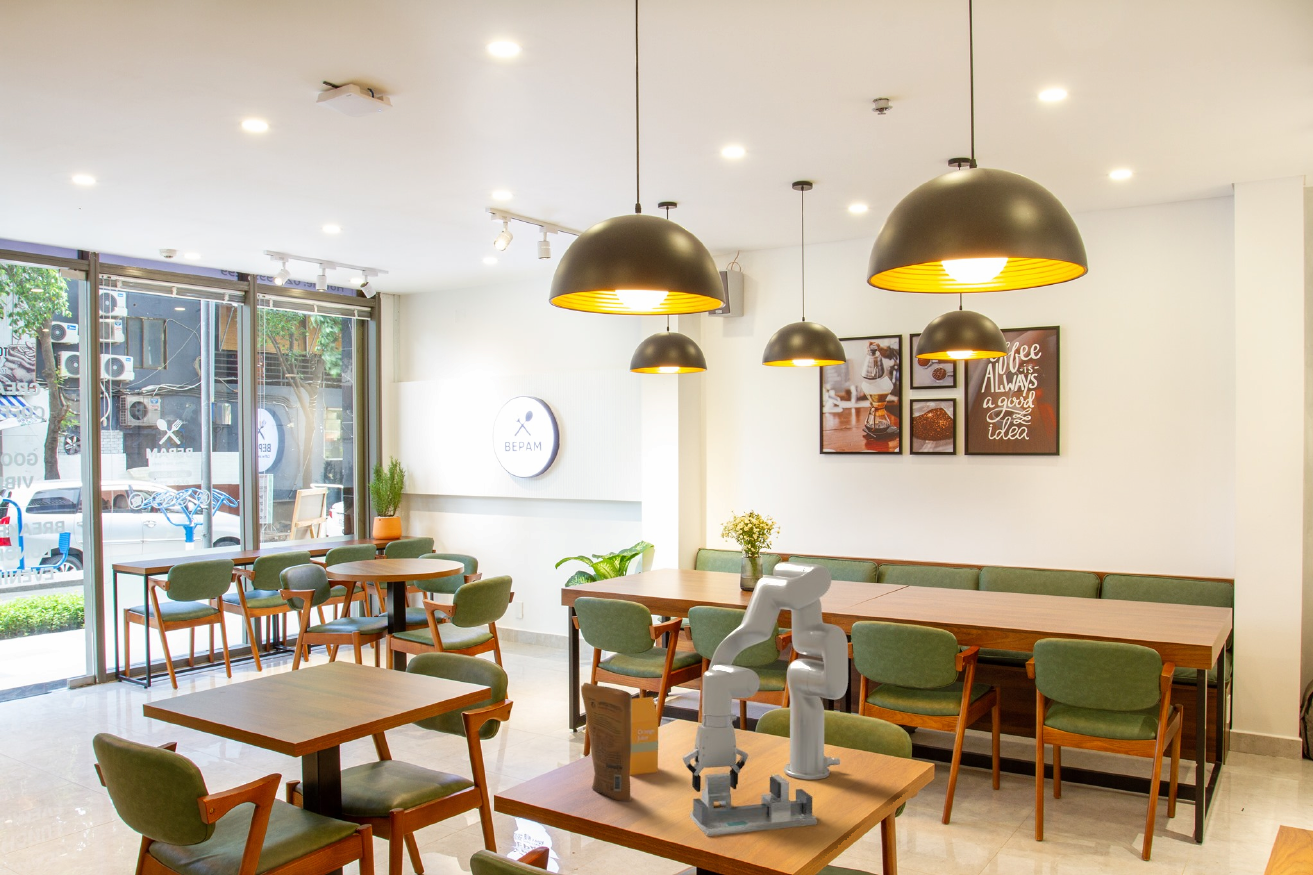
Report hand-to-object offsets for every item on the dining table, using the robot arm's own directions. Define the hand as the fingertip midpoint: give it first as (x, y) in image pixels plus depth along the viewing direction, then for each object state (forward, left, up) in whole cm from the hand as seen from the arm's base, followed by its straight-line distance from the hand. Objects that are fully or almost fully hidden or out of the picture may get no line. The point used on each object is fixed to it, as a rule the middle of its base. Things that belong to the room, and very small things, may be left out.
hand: (715, 788), depth 236 cm
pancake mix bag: (+24, -16, -5) cm, 29 cm away
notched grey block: (0, 0, -4) cm, 4 cm away
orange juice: (+11, -33, -5) cm, 35 cm away
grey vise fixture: (-5, +12, -4) cm, 14 cm away
